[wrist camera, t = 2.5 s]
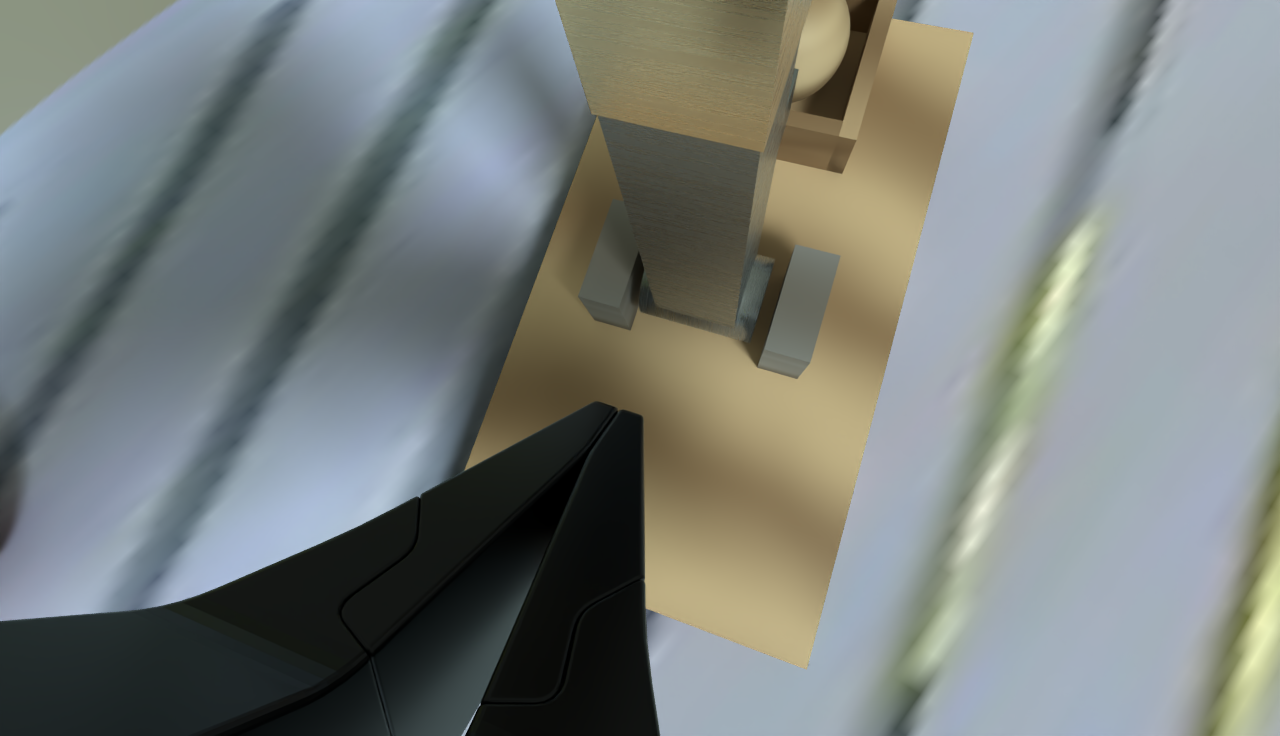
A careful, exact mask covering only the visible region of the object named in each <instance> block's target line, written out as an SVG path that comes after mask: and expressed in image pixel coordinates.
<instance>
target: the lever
mask: <svg viewBox="0 0 1280 736" xmlns="http://www.w3.org/2000/svg"><path fill="white" fill-rule="evenodd" d="M555 2H556V5H557V8H558V11H559V14H560V17H561V20H562V24H563V27H564V30H565V33H566V36H567V39H568V42H569V45H570V48H571V52H572V55H573V58H574V61H575V64H576V67H577V70H578V73H579V77H580V80H581V83H582V86H583V89H584V92H585V95H586V98H587V101H588V105H589V108H590V111H591V114H593V115H597V116H598V119H599V122H600V125H601V128H602V132H603V135H604V138H605V142H606V145H607V148H608V151H609V155H610V158H611V161H612V164H613V168H614V171H615V174H616V178H617V181H618V184H619V187H620V191H621V194H622V197H623V200H624V204H625V207H626V210H627V213H628V217H629V220H630V223H631V227H632V230H633V233H634V236H635V240H636V243H637V246H638V249H639V253H640V256H641V259H642V263H643V266H644V273H643V277H642V282H641V287H640V294H639V309H640V312H641V313H645V314H648V315H652V316H655V317H659V318H662V319H666V320H669V321H673V322H676V323H680V324H684V325H687V326H691V327H694V328H698V329H701V330H705V331H708V332H712V333H715V334H719V335H722V336H726V337H729V338H733V339H736V340H740V341H743V342H747V343H750V341H751V338H752V335H753V332H754V329H755V325H756V322H757V319H758V315H759V312H760V309H761V306H762V302H763V299H764V296H765V292H766V289H767V286H768V282H769V279H770V276H771V272H772V269H773V265H774V262H775V259H774V258H770V257H766V256H762V255H758V254H757V253H758V248H759V243H760V238H761V233H762V228H763V223H764V218H765V213H766V208H767V203H768V198H769V193H770V188H771V183H772V178H773V173H774V168H775V163H776V158H777V153H778V149H779V146H780V142H781V139H782V136H783V133H784V130H785V126H786V123H787V120H788V117H789V113H790V109H791V104H792V99H793V94H794V90H795V85H796V80H797V75H798V71H799V69H795V63H796V58H797V53H798V48H799V43H800V38H801V33H802V30H803V27H804V24H805V21H806V18H807V15H808V11H809V8H810V5H811V2H812V0H555Z"/></svg>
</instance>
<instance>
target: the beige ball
mask: <svg viewBox="0 0 1280 736" xmlns="http://www.w3.org/2000/svg"><path fill="white" fill-rule="evenodd" d="M849 36H850V15H849V9H848V5H847V2H846V0H812V2H811V5H810V8H809V11H808V15H807V18H806V21H805V24H804V27H803V30H802V33H801V38H800V43H799V48H798V53H797V58H796V63H795V69H799V71H798V75H797V80H796V85H795V90H794V94H793V99H792V103H793V102H797V101H800V100H803V99H805V98H807V97H809V96H811V95H812V94H814V93H815V92H817V91H818V90H820V89H821V88H822V87H823V86H824V85H825V84H826V83H827V82H828V81H829V80H830V79H831V78H832V76H833V75H834V74H835V72H836V70H837V69H838V67H839V66H840V64H841V62H842V60H843V57H844V55H845V53H846V50H847V46H848V42H849Z"/></svg>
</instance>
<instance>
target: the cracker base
mask: <svg viewBox="0 0 1280 736" xmlns="http://www.w3.org/2000/svg"><path fill="white" fill-rule="evenodd" d="M846 2H847V5H848V9H849V15H850V36H849V42H848V46H847V50H846V53H845V55H844V57H843V60H842V62H841V64H840V66H839V67H838V69H837V70H836V72H835V74H834V75H833V76H832V78H831V79H830V80H829V81H828V82H827V83H826V84H825V85H824V86H823V87H822V88H821V89H820V90H818V91H817V92H815V93H814V94H812V95H811V96H809V97H807V98H805V99H803V100H800V101H797V102H793V103H792V104H791V109H790V113H789V117H788V120H787V123H786V126H785V130H784V133H783V136H782V139H781V142H780V146H779V149H778V153H777V158H776V163H775V168H774V173H773V178H772V183H771V188H770V193H769V198H768V203H767V208H766V213H765V218H764V223H763V228H762V233H761V238H760V243H759V248H758V253H757V254H758V255H762V256H766V257H770V258H774V259H775V262H774V265H773V269H772V272H771V276H770V279H769V282H768V286H767V289H766V292H765V296H764V299H763V302H762V306H761V309H760V312H759V315H758V319H757V322H756V325H755V329H754V332H753V335H752V338H751V341H750V343H747V342H743V341H740V340H736V339H733V338H729V337H726V336H722V335H719V334H715V333H712V332H708V331H705V330H701V329H698V328H694V327H691V326H687V325H684V324H680V323H676V322H673V321H669V320H666V319H662V318H659V317H655V316H652V315H648V314H645V313H641V312H640V309H639V294H640V287H641V282H642V277H643V273H644V266H643V263H642V259H641V256H640V253H639V249H638V246H637V243H636V240H635V236H634V233H633V230H632V227H631V223H630V220H629V217H628V213H627V210H626V207H625V204H624V200H623V197H622V194H621V191H620V187H619V184H618V181H617V178H616V174H615V171H614V168H613V164H612V161H611V158H610V155H609V151H608V148H607V145H606V142H605V138H604V135H603V132H602V128H601V125H600V122H599V119H598V116H597V117H596V120H595V122H594V125H593V128H592V130H591V133H590V136H589V138H588V141H587V144H586V147H585V149H584V152H583V155H582V157H581V160H580V163H579V165H578V168H577V171H576V173H575V176H574V179H573V181H572V184H571V187H570V189H569V192H568V195H567V197H566V200H565V203H564V205H563V208H562V211H561V213H560V216H559V219H558V221H557V224H556V227H555V229H554V232H553V235H552V238H551V240H550V243H549V246H548V248H547V251H546V254H545V256H544V259H543V262H542V264H541V267H540V270H539V272H538V275H537V278H536V280H535V283H534V286H533V288H532V291H531V294H530V296H529V299H528V302H527V304H526V307H525V310H524V312H523V315H522V318H521V320H520V323H519V326H518V329H517V331H516V334H515V337H514V339H513V342H512V345H511V347H510V350H509V353H508V355H507V358H506V361H505V363H504V366H503V369H502V371H501V374H500V377H499V379H498V382H497V385H496V387H495V390H494V393H493V395H492V398H491V401H490V403H489V406H488V409H487V411H486V414H485V417H484V420H483V422H482V425H481V428H480V430H479V433H478V436H477V438H476V441H475V444H474V446H473V449H472V452H471V454H470V457H469V460H468V462H467V465H466V468H465V470H467V469H469V468H471V467H472V466H474V465H476V464H478V463H480V462H482V461H484V460H485V459H487V458H489V457H491V456H493V455H495V454H497V453H498V452H500V451H502V450H504V449H506V448H508V447H510V446H512V445H513V444H515V443H517V442H519V441H521V440H523V439H525V438H526V437H528V436H530V435H532V434H534V433H536V432H538V431H540V430H541V429H543V428H545V427H547V426H549V425H551V424H553V423H554V422H556V421H558V420H560V419H562V418H564V417H566V416H568V415H569V414H571V413H573V412H575V411H577V410H579V409H581V408H582V407H584V406H586V405H588V404H590V403H592V402H595V401H599V402H603V403H606V404H609V405H612V406H615V407H617V408H618V410H622V409H625V410H628V411H631V412H634V413H637V414H640V415H642V416H643V418H644V488H645V581H644V582H645V584H646V609H649V610H652V611H654V612H657V613H659V614H662V615H665V616H667V617H670V618H673V619H675V620H678V621H680V622H683V623H686V624H688V625H691V626H694V627H696V628H699V629H701V630H704V631H707V632H709V633H712V634H715V635H717V636H720V637H722V638H725V639H728V640H730V641H733V642H736V643H738V644H741V645H743V646H746V647H749V648H751V649H754V650H757V651H759V652H762V653H764V654H767V655H770V656H772V657H775V658H778V659H780V660H783V661H785V662H788V663H791V664H793V665H796V666H799V667H801V668H804V669H806V670H807V666H808V663H809V659H810V655H811V651H812V647H813V643H814V640H815V636H816V632H817V628H818V624H819V621H820V617H821V613H822V609H823V605H824V602H825V598H826V594H827V590H828V586H829V582H830V579H831V575H832V571H833V567H834V563H835V560H836V556H837V552H838V548H839V544H840V541H841V537H842V533H843V529H844V525H845V521H846V518H847V514H848V510H849V506H850V502H851V499H852V495H853V491H854V487H855V483H856V480H857V476H858V472H859V468H860V464H861V460H862V457H863V453H864V449H865V445H866V441H867V438H868V434H869V430H870V426H871V422H872V418H873V415H874V411H875V407H876V403H877V399H878V396H879V392H880V388H881V384H882V380H883V377H884V373H885V369H886V365H887V361H888V357H889V354H890V350H891V346H892V342H893V338H894V335H895V331H896V327H897V323H898V319H899V316H900V312H901V308H902V304H903V300H904V296H905V293H906V289H907V285H908V281H909V277H910V274H911V270H912V266H913V262H914V258H915V255H916V251H917V247H918V243H919V239H920V235H921V232H922V228H923V224H924V220H925V216H926V213H927V209H928V205H929V201H930V197H931V193H932V190H933V186H934V182H935V178H936V174H937V171H938V167H939V163H940V159H941V155H942V152H943V148H944V144H945V140H946V136H947V132H948V129H949V125H950V121H951V117H952V113H953V110H954V106H955V102H956V98H957V94H958V91H959V87H960V83H961V79H962V75H963V71H964V68H965V64H966V60H967V56H968V52H969V49H970V45H971V41H972V37H973V33H971V32H965V31H960V30H954V29H948V28H942V27H937V26H931V25H925V24H919V23H914V22H908V21H902V20H896V19H892V16H893V13H894V9H895V6H896V2H897V0H846ZM465 470H464V471H465Z"/></svg>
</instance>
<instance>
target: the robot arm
mask: <svg viewBox="0 0 1280 736" xmlns="http://www.w3.org/2000/svg"><path fill="white" fill-rule="evenodd" d="M644 581H645V488H644V418H643V416H642V415H640V414H637V413H634V412H631V411H628V410H625V409H622V410H618V408H617V407H615V406H612V405H609V404H606V403H603V402H599V401H595V402H592V403H590V404H588V405H586V406H584V407H582V408H581V409H579V410H577V411H575V412H573V413H571V414H569V415H568V416H566V417H564V418H562V419H560V420H558V421H556V422H554V423H553V424H551V425H549V426H547V427H545V428H543V429H541V430H540V431H538V432H536V433H534V434H532V435H530V436H528V437H526V438H525V439H523V440H521V441H519V442H517V443H515V444H513V445H512V446H510V447H508V448H506V449H504V450H502V451H500V452H498V453H497V454H495V455H493V456H491V457H489V458H487V459H485V460H484V461H482V462H480V463H478V464H476V465H474V466H472V467H471V468H469V469H467V470H465V471H463V472H461V473H459V474H457V475H456V476H454V477H452V478H450V479H448V480H446V481H444V482H443V483H441V484H439V485H437V486H435V487H433V488H431V489H429V490H428V491H426V492H424V493H422V494H421V496H420V498H419V497H414V498H412V499H410V500H409V501H407V502H405V503H403V504H401V505H399V506H397V507H395V508H394V509H392V510H390V511H388V512H386V513H384V514H382V515H380V516H378V517H376V518H374V519H372V520H370V521H368V522H366V523H364V524H362V525H360V526H358V527H356V528H354V529H351V530H349V531H347V532H345V533H343V534H340V535H338V536H336V537H334V538H331V539H329V540H327V541H325V542H323V543H320V544H318V545H316V546H314V547H311V548H309V549H307V550H304V551H302V552H300V553H297V554H295V555H293V556H290V557H288V558H286V559H283V560H281V561H279V562H276V563H274V564H272V565H269V566H267V567H265V568H262V569H260V570H258V571H255V572H253V573H251V574H248V575H246V576H244V577H241V578H239V579H237V580H234V581H232V582H230V583H227V584H225V585H223V586H220V587H218V588H216V589H213V590H210V591H208V592H205V593H203V594H200V595H197V596H194V597H191V598H188V599H185V600H182V601H179V602H175V603H171V604H167V605H163V606H158V607H152V608H147V609H140V610H131V611H120V612H108V613H95V614H83V615H71V616H58V617H46V618H34V619H21V620H9V621H0V736H461V735H462V733H463V732H464V730H465V728H466V727H467V725H468V723H469V721H470V720H471V718H472V716H473V715H474V713H475V711H476V709H477V708H478V709H477V712H476V714H475V716H474V718H473V720H472V723H471V725H470V727H469V729H468V731H467V733H466V735H465V736H660V731H659V725H658V718H657V711H656V705H655V698H654V692H653V685H652V677H651V669H650V661H649V652H648V643H647V625H646V584H645V582H644ZM480 703H481V706H479V704H480ZM478 706H479V707H478Z"/></svg>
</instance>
